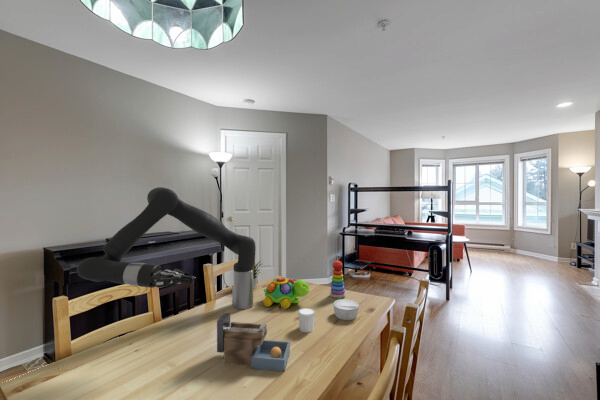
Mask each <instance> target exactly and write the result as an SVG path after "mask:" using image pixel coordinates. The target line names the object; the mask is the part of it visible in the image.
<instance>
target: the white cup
mask: <svg viewBox="0 0 600 400" xmlns="http://www.w3.org/2000/svg"><path fill="white" fill-rule="evenodd" d="M315 314H316V310H315V309H313V308H310V307H303V308H299V309H298V310H297V315H298V318H297V319H298V329H299V330H300V332H302V333H311V332H313V331H314V328H315V327H314V326H315V318H316V315H315Z"/></svg>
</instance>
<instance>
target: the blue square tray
mask: <svg viewBox="0 0 600 400" xmlns="http://www.w3.org/2000/svg"><path fill="white" fill-rule="evenodd" d="M274 347H279V348H280V349H281V356H280V358H272V357H271V355H270V352H271V349H272V348H274ZM290 353H291V341H286V340H271V339H270V340H268V339H264V341H263V343H262V345H258V346H257V348H256V350H255V352H254V354H253V356H252V365H251V369H252V370H260V371H263V370H264V371H277V372H286V367H287V365H288V361H289V356H290Z"/></svg>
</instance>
